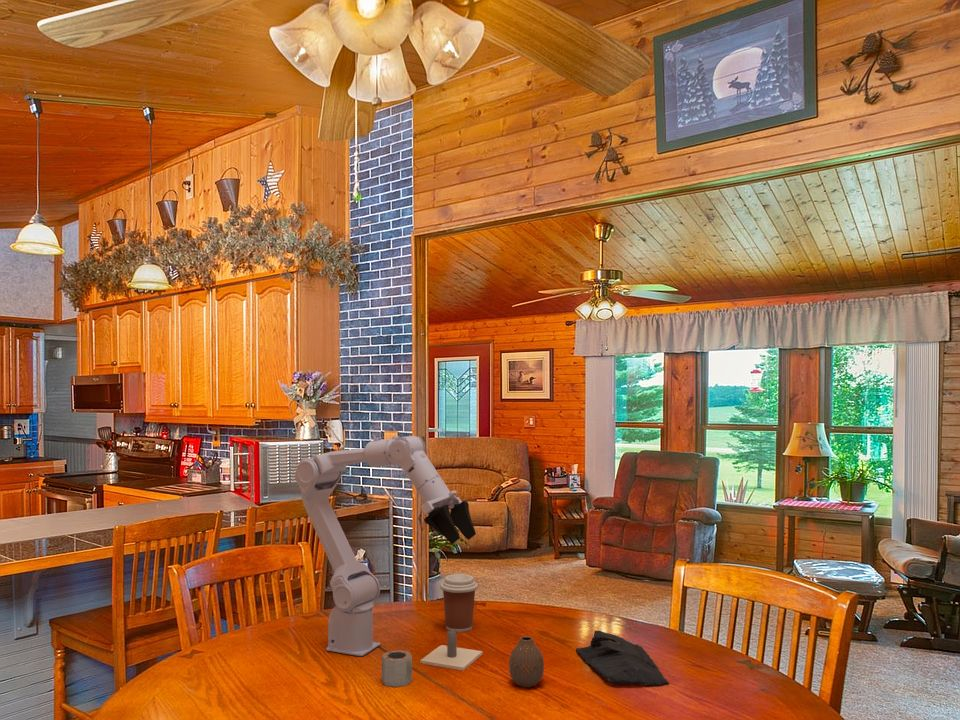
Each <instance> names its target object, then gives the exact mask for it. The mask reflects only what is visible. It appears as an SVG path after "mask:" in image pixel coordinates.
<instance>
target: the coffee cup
mask: <svg viewBox="0 0 960 720" xmlns="http://www.w3.org/2000/svg"><path fill="white" fill-rule="evenodd" d="M474 579H475V578H474V576H472V575H470V574H466V573H452V574H449V575H446V576H445V577H444V580H443V582H441V583H440V586H439V587H440V590H442V593H443V594H442V595H443V607H444V621H445V622H444V623H445V630H447V631H456V632H457V633H463V632H469V631H471V630H472V629H473V621H474V607H475V596H476V591H477V590H478V589H479V588H478V587H479V584H478V582H476V581H475V580H474Z"/></svg>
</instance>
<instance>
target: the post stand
mask: <svg viewBox="0 0 960 720" xmlns="http://www.w3.org/2000/svg"><path fill="white" fill-rule="evenodd" d="M457 633H458V632H456V631H449V630H447V633H446V639H447V640H446V641H447V643H446V644H447V645H443V644H441V645H439V646H438V647H437V648H435V649H434V650H432V651H431V652H429V653H428V654H427V655H425V656H424V657H423V658H421V659H420V662H419V663H420V664H421V663H422V664H421V665H430V666H434V667H440V668H447V669H452V670H458V671H464V670H466V669H467V668H469V666H471V665H472V664H473V663H474V662H475V661H476V660H477V659H478V658H480V657H481V656H482V655H483V651H482V650H476V649H469V648H464V647H457V642H458V641H457V637H458V635H457Z"/></svg>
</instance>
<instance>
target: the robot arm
mask: <svg viewBox="0 0 960 720" xmlns="http://www.w3.org/2000/svg"><path fill="white" fill-rule="evenodd" d="M361 463H366V464H367V465H368V466H370V467H371V468H377V467H386V466H388V467H389V466H395V465H396V466H399V467H400V468H401V470H402V472H404V473H405V474H406V476H407V477H408V479H409V480H410V483H411V484H412V486H413V487H414V489H415V490H416V491H417V493H418V495H419V496H420V498H421V500H422V501H423V502H424V504H422V505H420V508H421V510H422V512H423V514H424V515H426V517H425V518H424V519H423V522H424V523H425V524H426V525H428V526H430V527H432V528H434V529H435V530H436V531H437V532H438V533H440V534H441V535H442V536H443V538H445V540H447V541H448V543H450V544H451V545H454V544H455V543H456V542H457V541H459V540H460V539H461V535H460V533H461V534H462V536H463V537H464V538H465V539H466V540H471V539H472V538H473V537H475V536H476V535H477V532H476V529H475V527H474V524H473V521H472V518H471V514H470V505H469V502H468V500H463V501H462V500H461V498H460V497H459V496H456V495H457V494H458V492H457V491H456V490H451V491H450V489H449V488H448V486H447V485H446V483H445V481H444V480H443V478H442V477H441V475H440V474H439V472H438V471H437V469H436V468H435V466H434V465H433V463H432V462H431V460H430V459H429V457H428V456H427V454H426V445H425V442H424V440H423V439H422V438H421V437H419V436H418V435H417V436H416V435H409V436H399V435H393V436H391V438H386V439H382V437H374V438H372V440H371V441H369V442H368V443H366V445H365V447H364V448H355V449H344V450H335V451H334V450H333V451H328V452H324V453H320V454H317V455H314V456H311V458H309V457H305V458H302V459H301V460H300V461H299V462H298V464H297V467H296V471H295V474H294V480H295V482H296V484H297V486H298V487H299V490H300V493H301V494H300V495H301V501H302V505H303V507H304V509H305V512H306V513H307V515H308V518H309V520H310V522H311V524H312V527H313V528H314V531H315V533H316V535H317V537H318V539H319V541H320V544H321V545H322V548H323V551H324V553H325V554H326V558H327V559H328V561H329V564H330V566H331V568H332V570H333V572H334V573H333V575H332V576H331V580H330V581H329V586H330V588H331V591H332V599H333V602H334V604H335V606H334V607H333V608H332V609H331V611H330V612H329V616H328V622H327V625H328V626H327V629H328V630H327V647H326V648H325V650H326V651H328V652H334V653H338V654H339V653H340V654H345V655H352V656H356V657H364V656H365V655H366V654H369V653H370V652H371V651H373V650H375V649H376V648H378V647H379V646H381V642H379V641H374V638H373V637H374V606H375V603H376V601H375V600H377V599H378V598H379V595H380V593H381V585H380V582H379V580H378V578H377V577H376V576H375V575H374V574H373V573H372V572H371V571H370V569H369V567H368V566H367V565H366V564H364V563H362V562H360V561H359V560H357V558H356V556H355V553H354V552H353V549H352V547H351V545H350V542H349V541H348V539H347V537H346V534H345V531H343V528H342V526H341V524H340V522H339V520H338V518H337V515H336V513H335V511H334V509H333V507H332V505H331V503H330V501H329V498H330V497H331V494H332V493H333V491H334V490H335V488H336V487H337V485H338V483H339V481H340V479H341V477H342V476H343V473H344V471H346V470H347V465H354V464H361ZM459 532H460V533H459Z"/></svg>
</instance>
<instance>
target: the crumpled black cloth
mask: <svg viewBox="0 0 960 720" xmlns="http://www.w3.org/2000/svg"><path fill="white" fill-rule="evenodd" d="M575 652H576V653H577V652H578V653H579V654H578V653H577V654H578V655H579V656H581V658H582V660H583V661H584V660H585V663H586V664H588V666H591V668H592V669H593V670H594V671H596V673H597V674H599V676H601V677H602V678H603V679H604V680H606V681H607V682H609V683H610V684H615V685H616V684H618V685H619V684H625V685H626V684H627V685H637V686H638V685H639V686H653V687H660V686H661V687H662V686H666V685H670V683H669V681H668V680H667V679H666V678H665V677H664V675H663V674H662V672H661V670H660V669H659V667H658V666H657V665H656V663H654V660H653V659H652V657H651V656H650V655H649V654H648V653H647V652H646V650H645V649H644V648H643V646H641V645H638V644H634V643H632V642H630V641H628V640H625V638H623V637H620V636H619V635H616V634H613V633H609V632H604V631H602V630H594V633H593V637H592V638H591V641H590V645H589V646H584V647H578V648H577V647H576V649H575Z"/></svg>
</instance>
